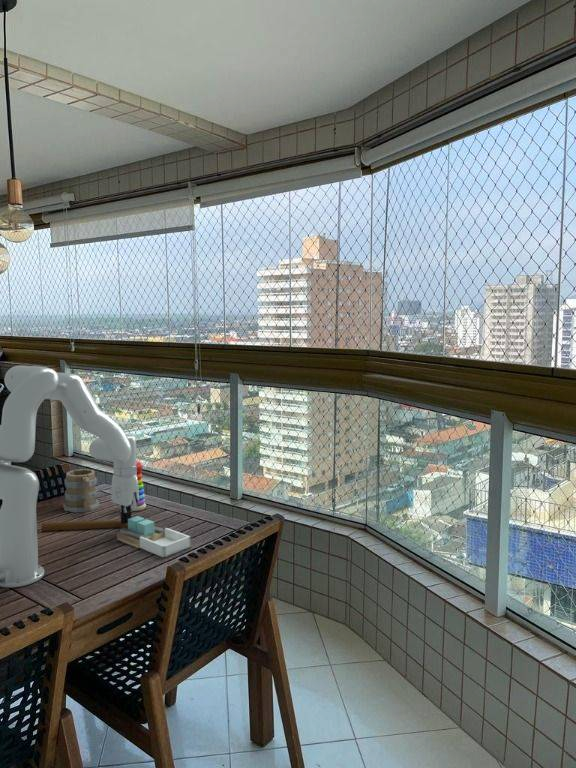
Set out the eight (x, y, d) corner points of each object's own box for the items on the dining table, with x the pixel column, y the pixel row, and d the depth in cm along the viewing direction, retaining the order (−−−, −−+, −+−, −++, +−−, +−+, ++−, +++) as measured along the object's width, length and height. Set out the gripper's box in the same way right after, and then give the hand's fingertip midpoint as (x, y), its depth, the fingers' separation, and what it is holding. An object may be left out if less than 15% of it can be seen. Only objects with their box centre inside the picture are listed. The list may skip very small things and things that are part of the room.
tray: (163, 557, 169) (163, 546, 169) (139, 547, 176) (139, 537, 176) (190, 546, 177) (190, 536, 177) (166, 537, 185) (166, 527, 185)
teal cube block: (135, 533, 183) (135, 521, 183) (128, 530, 186) (127, 519, 185) (145, 530, 186) (145, 518, 186) (137, 527, 189) (137, 516, 188)
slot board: (137, 547, 176) (137, 538, 176) (117, 539, 183) (116, 530, 183) (167, 537, 186) (166, 528, 185) (146, 529, 192) (146, 521, 192)
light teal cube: (144, 537, 180) (144, 525, 180) (137, 534, 183) (137, 522, 182) (154, 533, 183) (154, 521, 183) (147, 530, 186) (146, 519, 185)
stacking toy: (142, 512, 210) (142, 464, 208) (122, 511, 210) (121, 463, 208) (148, 505, 218) (147, 459, 216) (128, 505, 218) (127, 458, 216)
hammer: (38, 536, 186) (130, 533, 190) (38, 527, 185) (130, 524, 190) (48, 524, 197) (134, 521, 202) (48, 515, 197) (134, 513, 201)
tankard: (62, 504, 218) (61, 467, 216) (95, 500, 224) (94, 464, 222) (68, 520, 200) (67, 480, 199) (104, 515, 206) (103, 476, 205)
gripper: (102, 469, 189) (103, 520, 191) (129, 476, 180) (130, 531, 182) (121, 465, 195) (122, 515, 197) (148, 472, 186) (148, 524, 188)
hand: (126, 522), depth 189 cm, fingers closed
